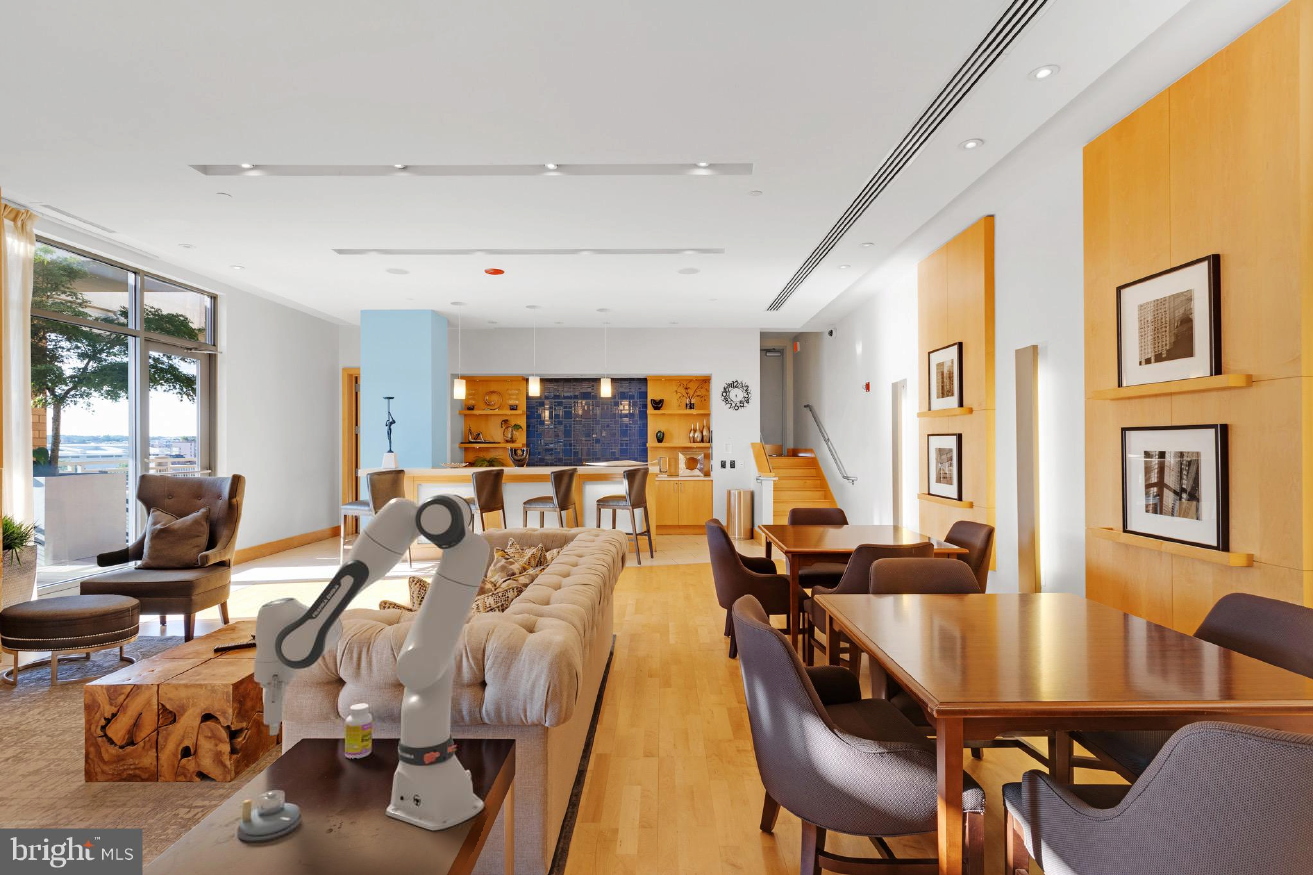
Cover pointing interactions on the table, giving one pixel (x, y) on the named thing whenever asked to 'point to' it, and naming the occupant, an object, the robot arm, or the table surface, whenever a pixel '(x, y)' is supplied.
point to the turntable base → (268, 837)
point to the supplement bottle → (358, 732)
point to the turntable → (267, 820)
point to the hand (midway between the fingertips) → (274, 730)
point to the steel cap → (271, 803)
